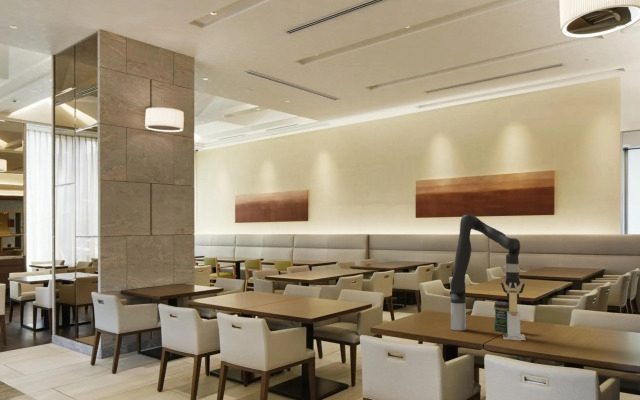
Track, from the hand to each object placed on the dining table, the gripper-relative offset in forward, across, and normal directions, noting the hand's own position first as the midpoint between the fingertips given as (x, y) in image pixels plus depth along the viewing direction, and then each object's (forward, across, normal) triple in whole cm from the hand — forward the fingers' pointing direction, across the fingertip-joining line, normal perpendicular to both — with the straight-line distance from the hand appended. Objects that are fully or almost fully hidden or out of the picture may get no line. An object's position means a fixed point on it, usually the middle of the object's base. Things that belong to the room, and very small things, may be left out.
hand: (513, 299), depth 288 cm
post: (+16, 0, 0) cm, 16 cm away
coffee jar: (+23, -6, +19) cm, 30 cm away
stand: (+23, 0, 0) cm, 23 cm away
